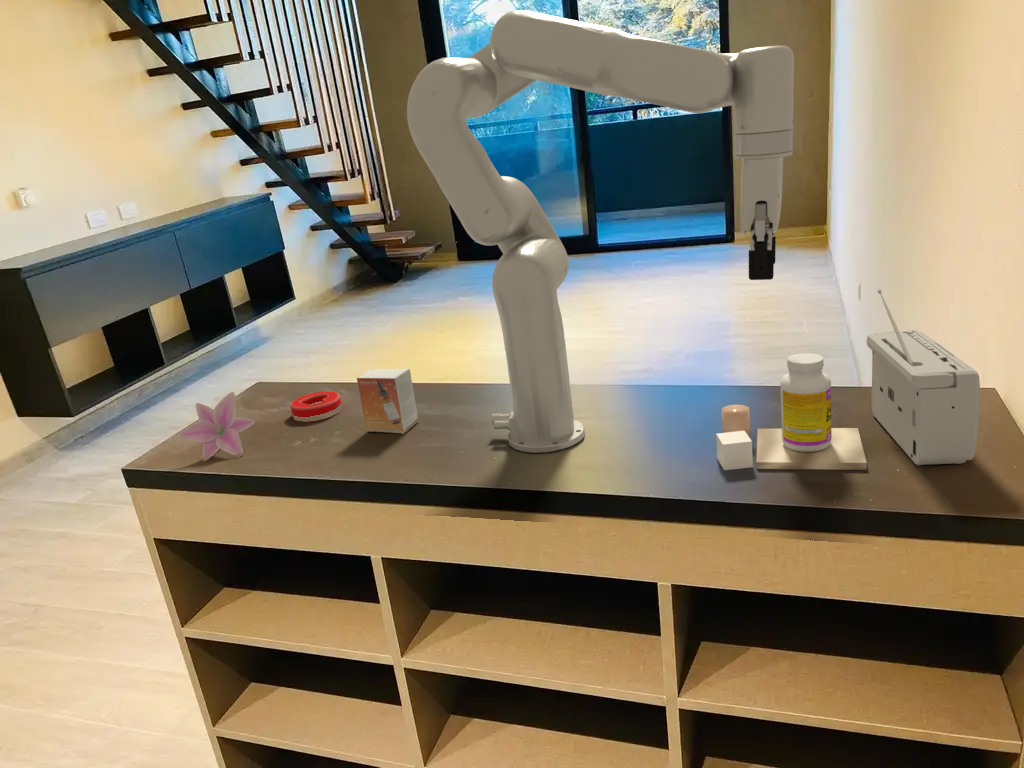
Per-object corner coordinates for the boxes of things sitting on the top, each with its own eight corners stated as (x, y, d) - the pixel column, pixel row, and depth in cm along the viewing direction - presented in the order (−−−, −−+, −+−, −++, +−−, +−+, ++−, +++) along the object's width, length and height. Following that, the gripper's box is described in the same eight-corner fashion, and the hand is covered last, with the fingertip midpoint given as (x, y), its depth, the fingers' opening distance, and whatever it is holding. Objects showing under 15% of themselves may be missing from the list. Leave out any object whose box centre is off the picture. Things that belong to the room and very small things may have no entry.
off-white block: (724, 470, 113) (722, 444, 112) (717, 459, 117) (716, 433, 116) (752, 467, 113) (751, 441, 112) (745, 456, 117) (744, 430, 115)
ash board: (756, 468, 112) (756, 462, 112) (757, 434, 123) (757, 428, 123) (866, 469, 108) (866, 462, 108) (857, 434, 119) (857, 428, 118)
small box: (365, 433, 145) (354, 377, 142) (381, 421, 150) (371, 367, 147) (404, 434, 142) (394, 378, 139) (419, 422, 147) (410, 367, 144)
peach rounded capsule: (722, 445, 121) (720, 414, 119) (723, 435, 125) (722, 404, 123) (750, 445, 120) (749, 414, 118) (750, 435, 123) (749, 404, 122)
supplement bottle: (834, 453, 111) (834, 364, 107) (784, 454, 113) (781, 367, 109) (828, 433, 117) (827, 349, 113) (780, 435, 119) (777, 352, 115)
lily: (177, 465, 145) (165, 430, 138) (212, 419, 153) (202, 383, 146) (239, 482, 143) (230, 448, 136) (270, 435, 151) (263, 400, 145)
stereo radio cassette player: (978, 467, 105) (987, 317, 98) (911, 471, 106) (916, 324, 100) (919, 409, 124) (924, 281, 118) (863, 414, 126) (865, 287, 119)
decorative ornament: (290, 413, 162) (287, 398, 161) (338, 401, 165) (335, 387, 164) (296, 427, 154) (293, 411, 153) (346, 415, 157) (343, 399, 156)
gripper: (738, 143, 118) (738, 260, 123) (729, 153, 102) (730, 286, 108) (793, 139, 115) (791, 258, 121) (792, 148, 100) (790, 285, 105)
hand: (762, 271), depth 114 cm, fingers open, 9 cm apart
